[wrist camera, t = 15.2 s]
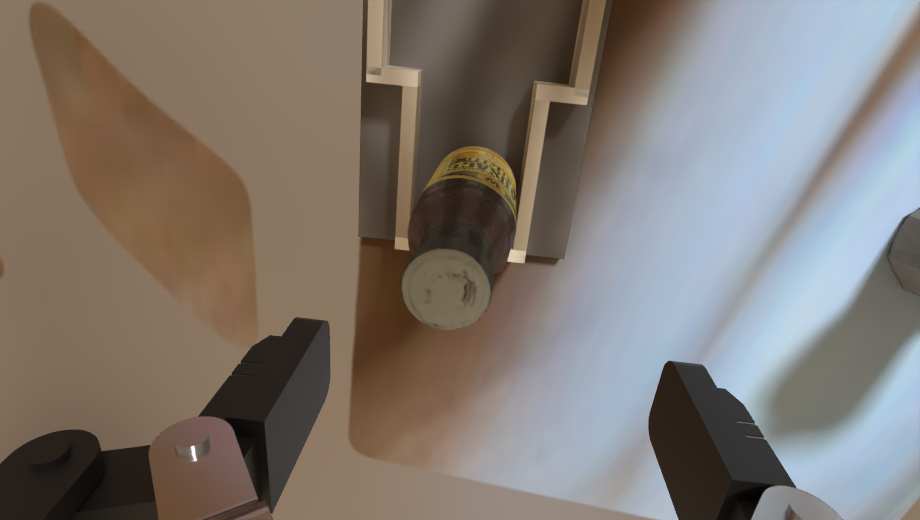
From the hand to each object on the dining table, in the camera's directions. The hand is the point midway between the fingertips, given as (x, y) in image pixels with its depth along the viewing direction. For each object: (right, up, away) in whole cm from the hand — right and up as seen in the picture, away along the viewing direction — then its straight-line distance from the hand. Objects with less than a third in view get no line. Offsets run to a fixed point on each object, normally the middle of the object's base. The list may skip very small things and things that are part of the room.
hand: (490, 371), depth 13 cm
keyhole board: (+1, +16, +27) cm, 31 cm away
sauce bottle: (0, +9, +29) cm, 30 cm away
